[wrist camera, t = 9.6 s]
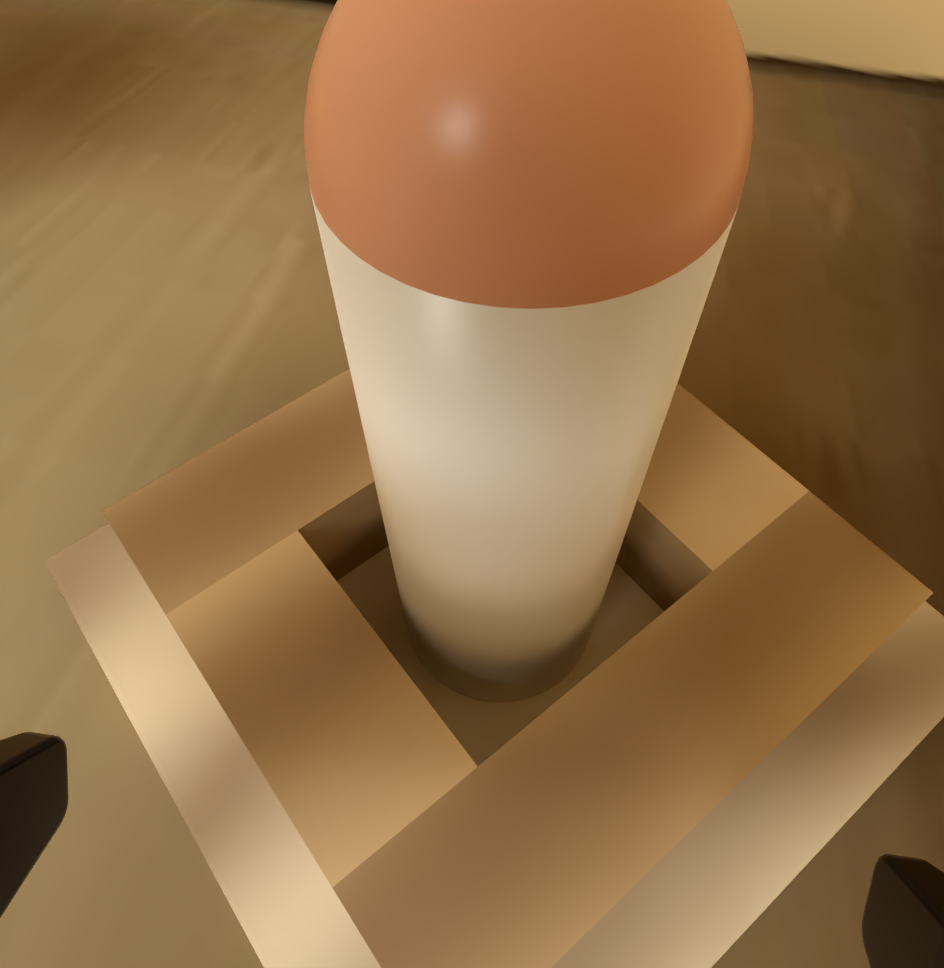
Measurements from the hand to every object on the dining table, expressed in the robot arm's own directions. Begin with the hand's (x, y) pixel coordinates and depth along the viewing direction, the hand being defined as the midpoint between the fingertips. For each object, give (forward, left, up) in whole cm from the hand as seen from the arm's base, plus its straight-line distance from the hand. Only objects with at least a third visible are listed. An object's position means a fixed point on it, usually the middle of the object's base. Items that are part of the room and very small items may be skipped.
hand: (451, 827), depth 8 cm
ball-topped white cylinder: (+4, -4, -8) cm, 10 cm away
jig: (+4, -4, -9) cm, 11 cm away
